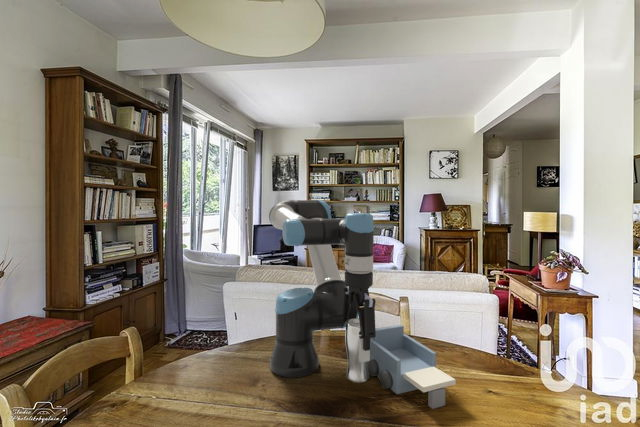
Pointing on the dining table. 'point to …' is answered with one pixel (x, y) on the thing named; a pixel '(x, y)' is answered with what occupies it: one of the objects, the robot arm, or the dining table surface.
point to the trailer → (401, 362)
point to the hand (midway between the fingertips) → (357, 354)
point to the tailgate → (429, 379)
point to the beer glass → (355, 352)
